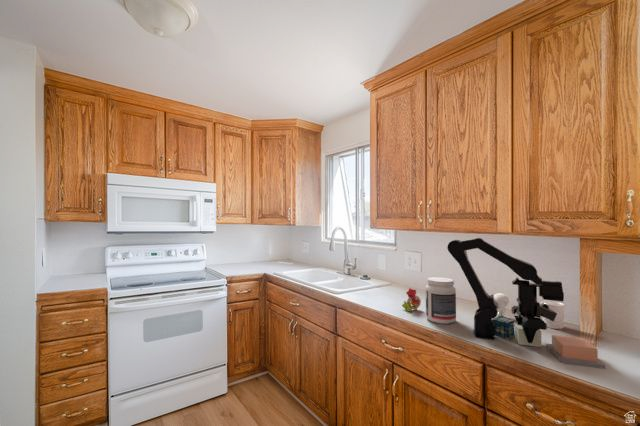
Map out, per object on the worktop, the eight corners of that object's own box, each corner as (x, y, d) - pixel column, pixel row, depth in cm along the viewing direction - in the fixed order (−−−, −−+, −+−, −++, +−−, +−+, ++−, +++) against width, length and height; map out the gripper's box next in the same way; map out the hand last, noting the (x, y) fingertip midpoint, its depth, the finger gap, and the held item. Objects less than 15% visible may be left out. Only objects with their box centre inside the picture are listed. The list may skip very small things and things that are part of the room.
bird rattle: (411, 312, 154) (397, 306, 151) (419, 291, 155) (405, 285, 153) (419, 316, 148) (404, 310, 145) (427, 294, 149) (412, 288, 147)
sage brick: (518, 344, 109) (518, 328, 109) (515, 339, 113) (514, 324, 113) (541, 347, 106) (541, 331, 106) (536, 342, 111) (536, 326, 111)
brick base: (561, 362, 95) (561, 346, 95) (546, 346, 107) (546, 332, 107) (605, 368, 91) (605, 352, 91) (584, 351, 104) (583, 336, 104)
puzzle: (498, 331, 122) (497, 316, 122) (514, 335, 118) (514, 320, 118) (491, 334, 119) (491, 319, 119) (508, 339, 114) (508, 323, 114)
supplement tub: (462, 322, 132) (462, 280, 133) (442, 326, 127) (442, 283, 127) (439, 314, 144) (438, 275, 144) (419, 318, 138) (419, 278, 138)
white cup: (565, 326, 128) (564, 302, 128) (564, 331, 122) (563, 306, 122) (542, 322, 133) (542, 299, 134) (540, 326, 127) (540, 303, 128)
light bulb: (495, 318, 138) (495, 294, 138) (490, 313, 144) (490, 291, 145) (511, 319, 136) (511, 295, 137) (506, 315, 143) (505, 291, 143)
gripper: (565, 306, 98) (565, 354, 98) (543, 293, 116) (544, 334, 116) (525, 303, 102) (526, 349, 102) (510, 291, 120) (511, 330, 119)
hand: (527, 340), depth 110 cm, fingers closed on sage brick, 5 cm apart
